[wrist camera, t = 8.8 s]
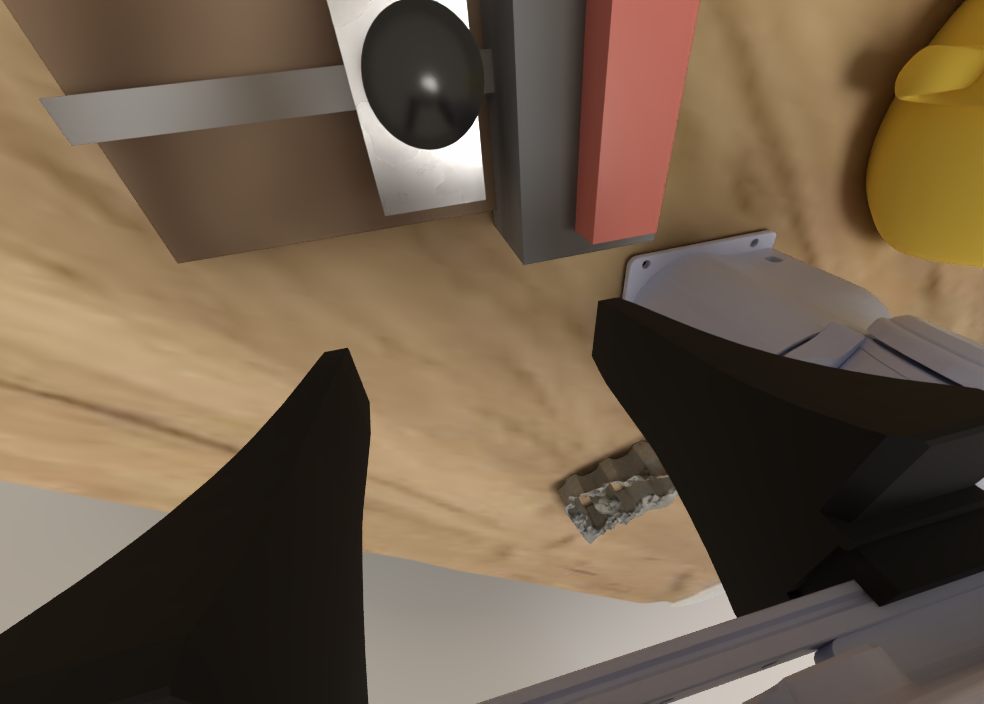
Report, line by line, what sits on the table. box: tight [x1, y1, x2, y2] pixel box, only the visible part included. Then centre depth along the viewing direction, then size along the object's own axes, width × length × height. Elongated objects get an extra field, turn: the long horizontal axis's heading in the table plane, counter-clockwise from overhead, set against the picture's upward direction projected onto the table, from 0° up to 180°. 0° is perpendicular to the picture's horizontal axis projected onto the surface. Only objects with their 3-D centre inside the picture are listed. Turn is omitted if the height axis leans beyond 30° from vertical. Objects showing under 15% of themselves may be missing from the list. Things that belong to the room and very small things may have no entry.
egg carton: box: [559, 441, 678, 544], centre depth 34 cm, size 11×8×4 cm
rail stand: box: [2, 0, 655, 265], centre depth 12 cm, size 19×12×5 cm, turn 95°
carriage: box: [327, 0, 486, 216], centre depth 10 cm, size 4×7×7 cm, turn 5°
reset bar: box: [575, 0, 700, 244], centre depth 10 cm, size 2×10×2 cm, turn 5°
